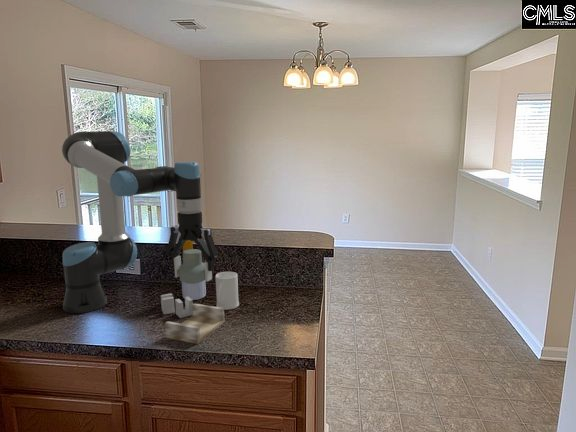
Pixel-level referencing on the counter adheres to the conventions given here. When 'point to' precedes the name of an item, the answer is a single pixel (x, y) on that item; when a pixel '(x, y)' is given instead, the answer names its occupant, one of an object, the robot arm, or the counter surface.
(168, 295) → the clip
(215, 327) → the end holder
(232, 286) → the mug
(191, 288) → the white orange spray bottle
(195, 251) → the air freshener
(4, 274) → the counter surface
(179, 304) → the clip
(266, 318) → the counter surface
